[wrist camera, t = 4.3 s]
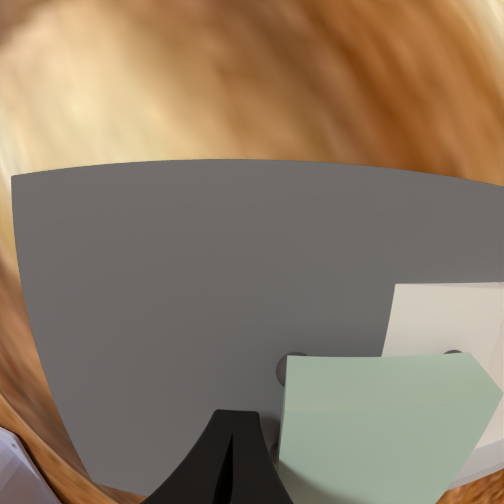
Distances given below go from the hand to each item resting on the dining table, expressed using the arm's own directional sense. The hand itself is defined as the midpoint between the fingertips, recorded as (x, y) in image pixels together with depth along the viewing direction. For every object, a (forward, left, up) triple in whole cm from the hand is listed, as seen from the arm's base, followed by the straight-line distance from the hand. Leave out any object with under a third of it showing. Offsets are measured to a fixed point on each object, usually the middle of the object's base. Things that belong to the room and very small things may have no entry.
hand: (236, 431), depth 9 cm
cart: (0, -4, -1) cm, 5 cm away
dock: (0, -6, -2) cm, 6 cm away
